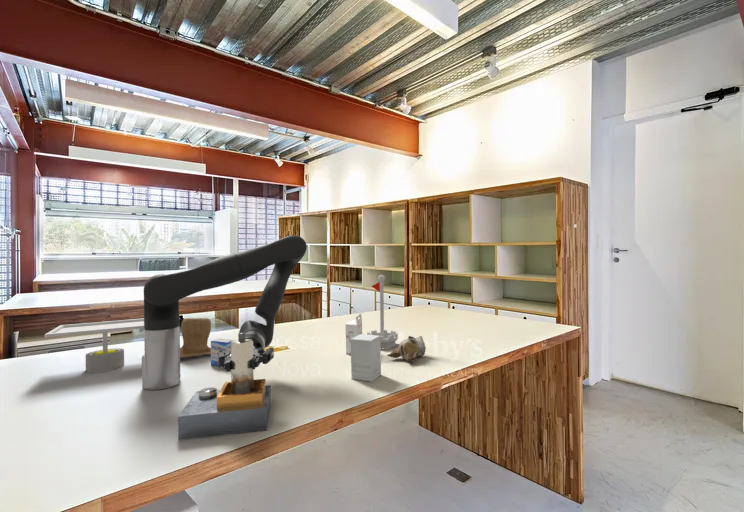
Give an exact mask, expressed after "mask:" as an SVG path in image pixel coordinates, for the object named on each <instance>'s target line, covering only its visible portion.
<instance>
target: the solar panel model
mask: <svg viewBox="0 0 744 512" xmlns="http://www.w3.org/2000/svg"><path fill="white" fill-rule="evenodd" d="M139 329H140V330H141V329H144V317H143V318H133V319H122V320H121V319H120V320H119V319H118V320H109V321H98V322H97V321H96V322H84V323H71V324H60V325H58V326H57V327H55V328H53V329H51V330H50V331H48V332H47V333H45V334H44V338H52V337H63V336H65V337H66V336H76V335H85V334H97V333H98V334H99V333H102V349H100V350H99V349H98V350H94V351H90V352H87V353H86V354H85V372H87V373H99V372H106V371H107V372H108V371H112V370H116V369H119V368H122V367H124V366H125V349H124V348H118V347H117V348H108V347H109V346H108V341H109V340H108V337H109V336H108V332H119V331H129V330H139Z"/></svg>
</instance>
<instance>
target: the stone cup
mask: <svg viewBox="0 0 744 512" xmlns="http://www.w3.org/2000/svg"><path fill="white" fill-rule="evenodd" d="M211 330H212V321H211V319H210V318H208V317H200V318H199V317H198V318H195V317H194V318H193V317H191V318H190V317H185V318H183V320H182V321H181V323H180V332H181V337H182V341H183V343H182V346H180V360H184V359H191V358H197V357H203V356H208V355H211V346H208V340H209V337H210V334H211Z"/></svg>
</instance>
